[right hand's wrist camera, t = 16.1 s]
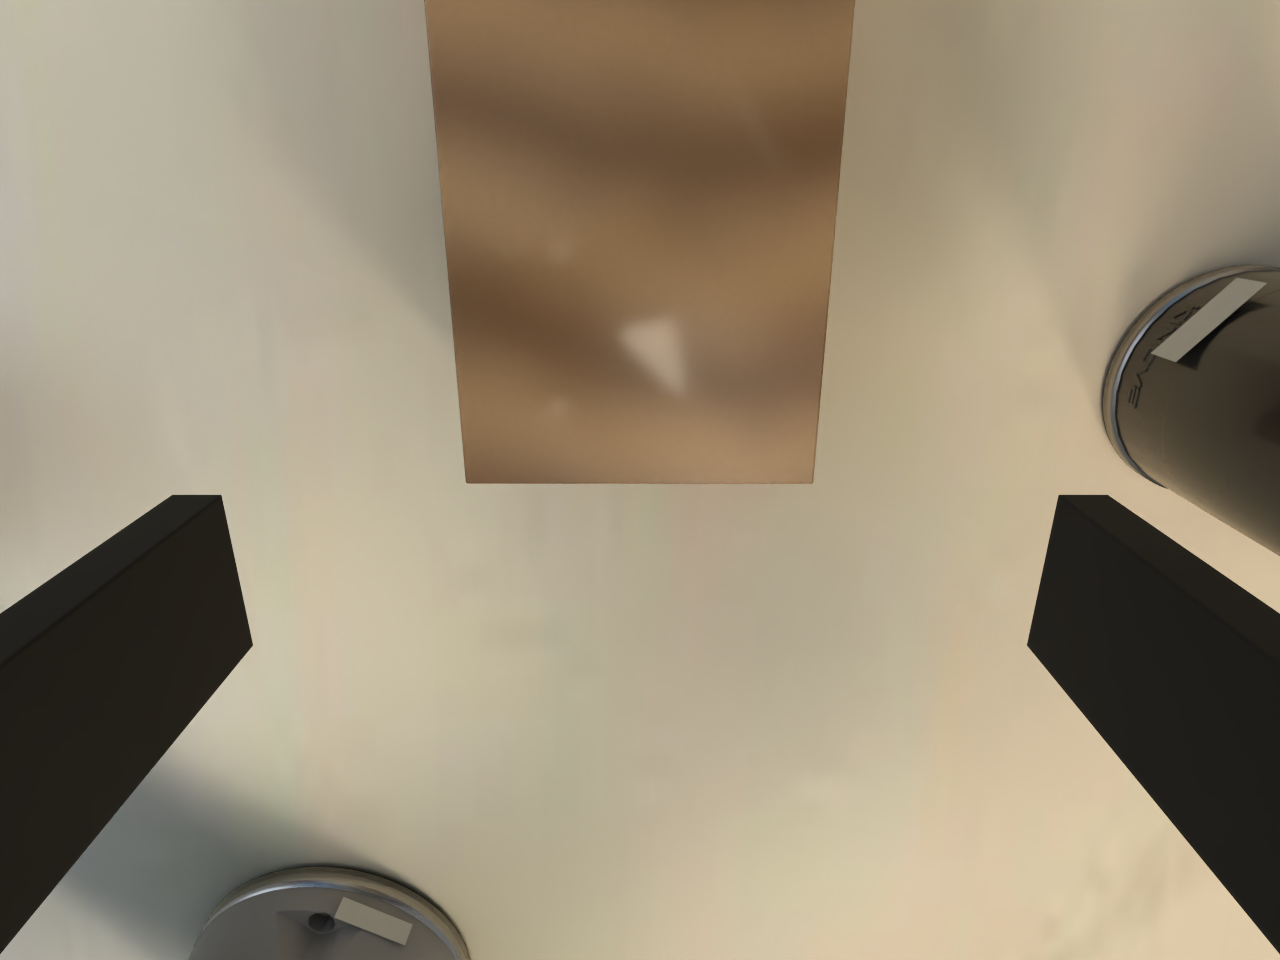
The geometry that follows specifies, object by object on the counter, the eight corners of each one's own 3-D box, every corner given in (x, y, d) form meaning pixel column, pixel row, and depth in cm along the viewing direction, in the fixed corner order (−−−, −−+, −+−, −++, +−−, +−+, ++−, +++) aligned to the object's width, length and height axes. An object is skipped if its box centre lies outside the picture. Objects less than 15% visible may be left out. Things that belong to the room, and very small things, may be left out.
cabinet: (466, -207, 26) (391, -371, 18) (812, -207, 26) (888, -370, 18) (506, 412, 33) (465, 484, 25) (772, 411, 33) (813, 484, 25)
